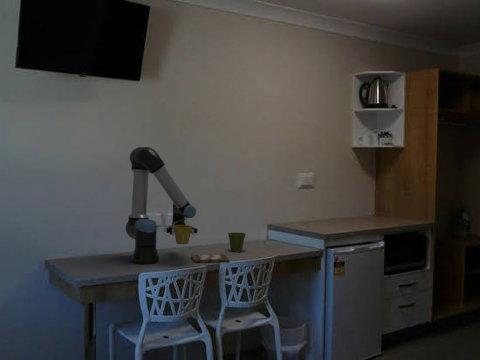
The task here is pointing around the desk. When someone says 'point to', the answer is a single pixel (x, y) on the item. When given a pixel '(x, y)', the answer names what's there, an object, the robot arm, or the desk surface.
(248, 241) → the desk surface
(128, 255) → the desk surface
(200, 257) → the base plate
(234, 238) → the plant pot
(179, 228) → the plant pot
